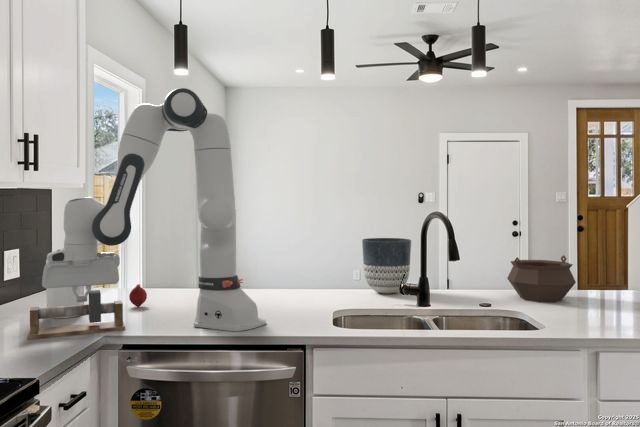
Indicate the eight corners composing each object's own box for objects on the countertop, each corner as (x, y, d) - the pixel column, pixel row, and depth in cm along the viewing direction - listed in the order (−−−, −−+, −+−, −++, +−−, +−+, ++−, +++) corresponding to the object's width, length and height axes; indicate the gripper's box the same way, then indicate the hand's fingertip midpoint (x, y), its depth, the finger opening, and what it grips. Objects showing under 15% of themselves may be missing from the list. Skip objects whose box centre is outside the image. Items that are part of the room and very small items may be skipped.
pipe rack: (122, 324, 166) (122, 299, 165) (125, 329, 158) (124, 304, 158) (29, 332, 155) (29, 306, 155) (27, 339, 148) (27, 311, 148)
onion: (141, 308, 189) (141, 285, 189) (126, 308, 190) (125, 285, 190) (149, 305, 194) (149, 283, 194) (135, 305, 196) (134, 282, 195)
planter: (409, 289, 228) (409, 238, 228) (412, 297, 209) (412, 241, 208) (362, 288, 230) (362, 237, 230) (361, 296, 211) (361, 241, 210)
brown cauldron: (536, 307, 190) (536, 260, 190) (493, 295, 213) (494, 253, 213) (590, 302, 198) (591, 257, 197) (544, 292, 220) (544, 251, 220)
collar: (99, 317, 162) (99, 290, 162) (101, 321, 156) (100, 293, 156) (89, 318, 161) (88, 290, 161) (89, 322, 155) (89, 294, 155)
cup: (91, 312, 183) (91, 257, 182) (68, 319, 172) (67, 261, 172) (63, 310, 186) (62, 256, 185) (38, 317, 175) (37, 260, 174)
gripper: (118, 251, 164) (119, 296, 164) (42, 254, 155) (43, 302, 156) (120, 252, 158) (121, 300, 159) (41, 256, 150) (42, 306, 150)
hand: (81, 301), depth 157 cm, fingers closed
